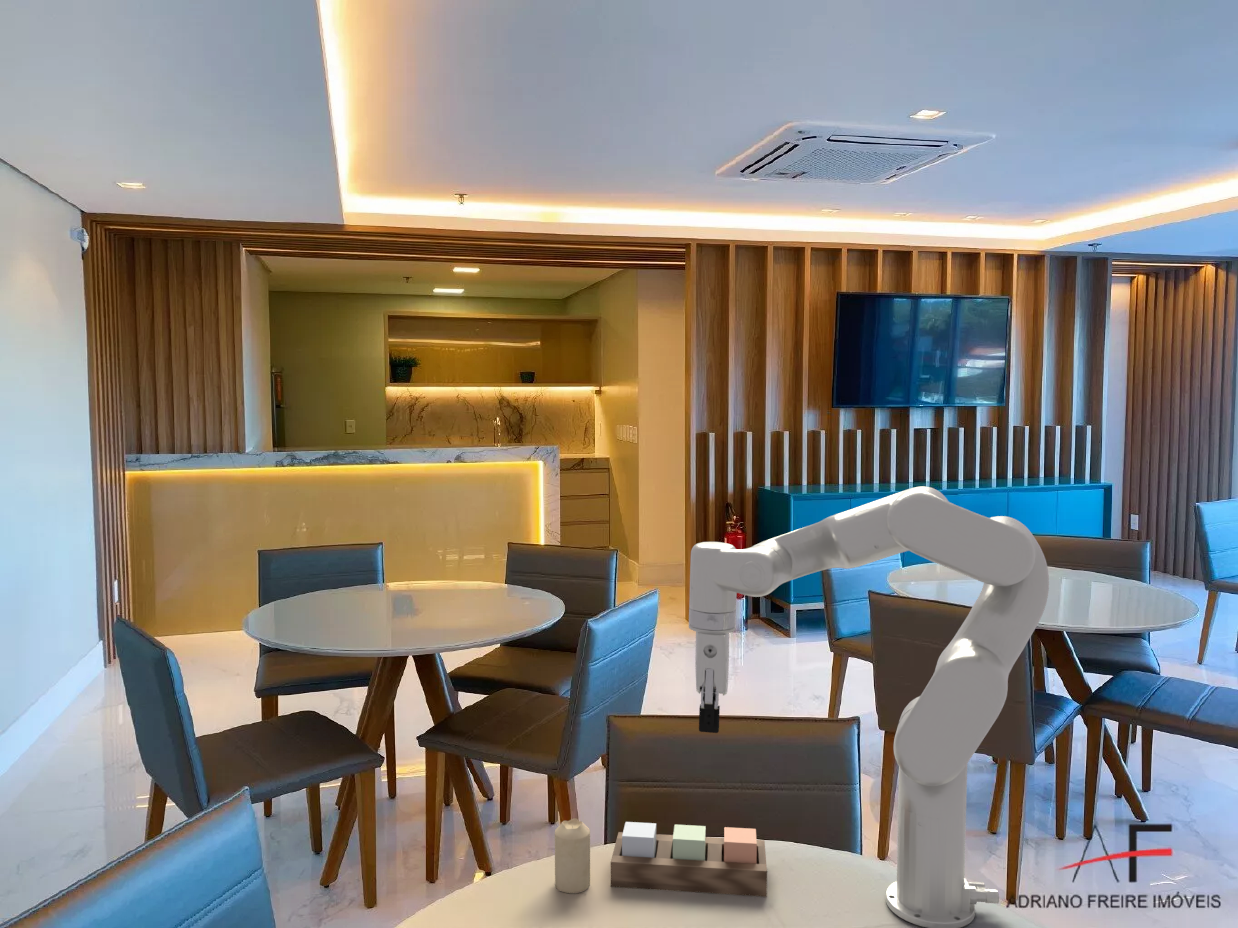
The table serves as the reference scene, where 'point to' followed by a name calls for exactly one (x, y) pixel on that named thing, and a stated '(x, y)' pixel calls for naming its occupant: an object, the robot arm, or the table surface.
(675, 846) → the sage button
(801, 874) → the table surface
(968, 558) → the robot arm
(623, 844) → the greyblue button
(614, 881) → the button panel
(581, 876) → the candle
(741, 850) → the terracotta button
